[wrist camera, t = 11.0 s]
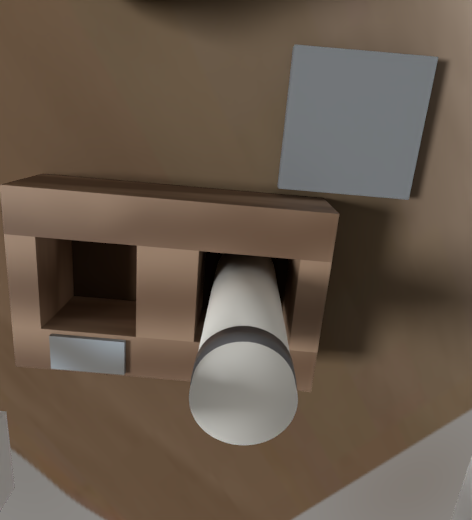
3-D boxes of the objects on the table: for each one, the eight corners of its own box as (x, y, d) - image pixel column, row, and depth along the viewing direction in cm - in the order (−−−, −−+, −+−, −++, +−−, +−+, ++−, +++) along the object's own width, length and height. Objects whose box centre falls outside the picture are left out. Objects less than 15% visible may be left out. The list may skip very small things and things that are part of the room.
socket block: (42, 173, 27) (-4, 185, 22) (323, 198, 27) (340, 215, 22) (51, 331, 31) (13, 372, 26) (300, 353, 31) (311, 398, 26)
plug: (217, 241, 28) (190, 346, 15) (278, 246, 28) (306, 356, 15) (213, 298, 30) (185, 441, 16) (272, 303, 30) (291, 450, 16)
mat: (293, 47, 25) (294, 44, 24) (431, 59, 25) (438, 57, 24) (277, 186, 27) (278, 188, 26) (403, 197, 27) (408, 199, 26)
